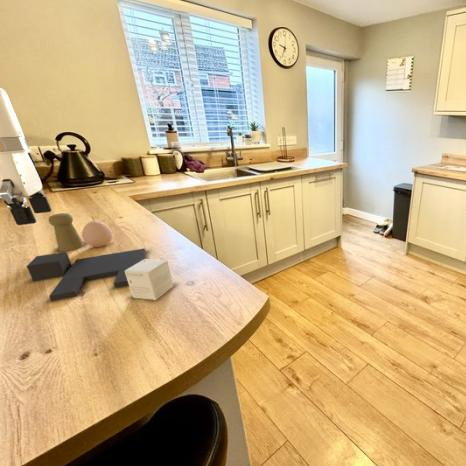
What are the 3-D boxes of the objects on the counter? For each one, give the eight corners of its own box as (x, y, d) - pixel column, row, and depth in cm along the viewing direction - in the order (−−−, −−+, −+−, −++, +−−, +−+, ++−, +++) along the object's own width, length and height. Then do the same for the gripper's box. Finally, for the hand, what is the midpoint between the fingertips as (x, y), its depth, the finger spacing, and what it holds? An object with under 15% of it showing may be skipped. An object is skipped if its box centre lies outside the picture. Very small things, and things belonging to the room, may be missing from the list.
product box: (132, 298, 66) (122, 270, 63) (152, 284, 72) (144, 258, 69) (156, 300, 65) (148, 272, 63) (174, 286, 71) (168, 260, 68)
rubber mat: (51, 301, 65) (49, 296, 64) (78, 264, 81) (76, 259, 80) (137, 284, 72) (135, 279, 71) (145, 252, 88) (144, 248, 87)
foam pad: (33, 281, 72) (26, 266, 70) (43, 271, 77) (36, 256, 75) (65, 276, 75) (58, 260, 73) (72, 266, 80) (66, 251, 78)
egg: (85, 252, 87) (75, 227, 84) (88, 244, 93) (79, 220, 90) (114, 247, 91) (106, 222, 88) (116, 239, 97) (108, 216, 93)
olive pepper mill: (62, 245, 92) (49, 212, 88) (86, 242, 95) (75, 210, 90) (55, 252, 87) (41, 218, 83) (81, 249, 90) (68, 215, 86)
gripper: (-1, 143, 70) (30, 210, 76) (-46, 150, 56) (-4, 232, 62) (41, 142, 73) (67, 206, 80) (8, 148, 59) (42, 226, 66)
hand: (35, 217), depth 71 cm, fingers open, 9 cm apart
